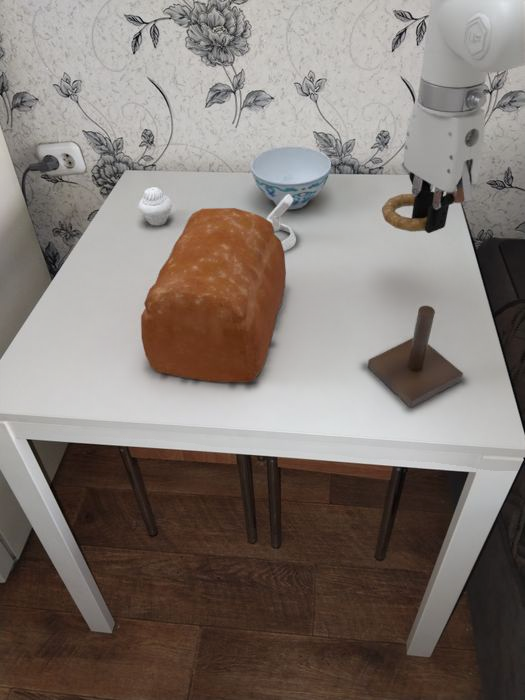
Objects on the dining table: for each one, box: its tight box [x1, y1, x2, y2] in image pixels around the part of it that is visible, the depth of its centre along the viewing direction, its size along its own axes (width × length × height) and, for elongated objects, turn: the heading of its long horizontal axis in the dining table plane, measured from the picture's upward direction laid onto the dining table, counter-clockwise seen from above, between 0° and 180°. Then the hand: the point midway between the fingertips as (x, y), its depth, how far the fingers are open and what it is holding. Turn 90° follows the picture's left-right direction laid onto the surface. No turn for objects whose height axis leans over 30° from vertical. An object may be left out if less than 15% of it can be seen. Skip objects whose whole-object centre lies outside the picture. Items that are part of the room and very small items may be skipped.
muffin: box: [137, 186, 173, 227], centre depth 110 cm, size 6×6×7 cm
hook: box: [266, 194, 297, 252], centre depth 103 cm, size 8×12×7 cm
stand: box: [367, 305, 464, 409], centre depth 78 cm, size 9×9×12 cm
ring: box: [381, 193, 427, 233], centre depth 86 cm, size 9×9×2 cm
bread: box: [140, 207, 287, 383], centre depth 85 cm, size 17×24×15 cm
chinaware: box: [250, 145, 332, 210], centre depth 113 cm, size 15×15×8 cm
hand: (427, 223), depth 84 cm, fingers closed on ring, 2 cm apart
